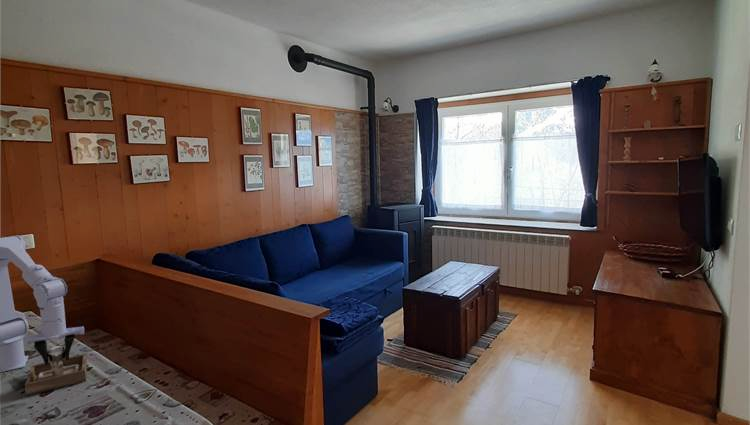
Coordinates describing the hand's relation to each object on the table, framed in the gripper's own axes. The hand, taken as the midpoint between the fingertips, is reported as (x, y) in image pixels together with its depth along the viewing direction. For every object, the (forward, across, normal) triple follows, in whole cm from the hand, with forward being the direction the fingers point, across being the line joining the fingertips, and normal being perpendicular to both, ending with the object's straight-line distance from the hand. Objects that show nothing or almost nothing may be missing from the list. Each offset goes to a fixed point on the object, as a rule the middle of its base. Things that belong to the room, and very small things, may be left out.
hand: (57, 360), depth 122 cm
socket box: (+6, 0, 0) cm, 6 cm away
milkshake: (+5, 0, +1) cm, 6 cm away
